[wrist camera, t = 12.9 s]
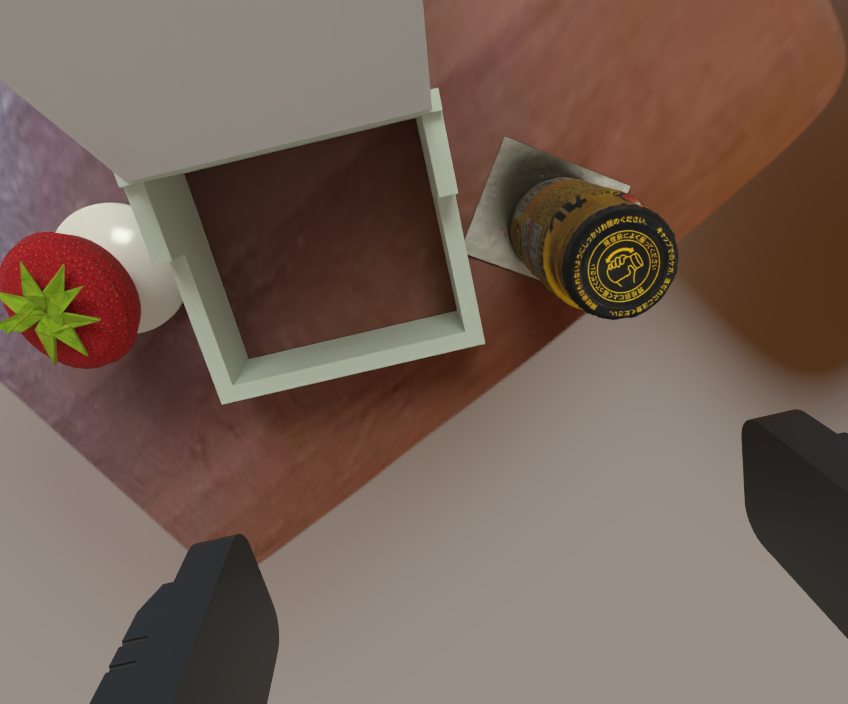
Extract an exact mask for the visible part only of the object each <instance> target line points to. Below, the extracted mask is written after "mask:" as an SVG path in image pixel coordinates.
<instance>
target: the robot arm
mask: <svg viewBox="0 0 848 704" xmlns="http://www.w3.org/2000/svg"><path fill="white" fill-rule="evenodd" d="M742 454H743V473H744V493H745V494H744V495H745V507H746V512H747V516H748V519H749V522H750V524H751V526H752V529H753V531H754V533H755V535H756V536H757V538H758V539H759V541H760V542H761V544H762V545H763V546H764V547H765V548H766V549H767V551H768V552H769V553H770V554H771V555H772V556H773V557H774V558H775V559H776V560H777V561H778V563H779V564H780V565H781V566H782V567H783V568H784V569H785V570H786V571H787V572H788V574H789V575H790V576H791V577H792V578H793V579H794V580H795V581H796V582H797V583H798V584H799V586H800V587H801V588H802V589H803V590H804V591H805V592H806V593H807V594H808V596H809V597H810V598H811V599H812V600H813V601H814V602H815V603H816V604H817V605H818V606H819V608H820V609H821V610H822V611H823V612H824V613H825V614H826V615H827V616H828V618H829V619H830V620H831V621H832V622H833V623H834V624H835V625H836V626H837V627H838V629H839V630H840V631H841V632H842V633H843V634H844V635H845V636H846V637H847V638H848V433H845V432H844V433H839V434H837V433H835V432H834V431H832V430H831V429H829V428H828V427H826V426H825V425H823V424H822V423H820V422H819V421H817V420H816V419H814V418H813V417H811V416H810V415H808V414H807V413H805V412H803V411H801V410H796V409H795V410H790V411H786V412H782V413H777V414H773V415H768V416H764V417H759V418H755V419H751V420H747V421H746V422H745V423H744V425H743V428H742ZM122 643H123V646H122V647H119V648H118V650H117V652H116V654H115V656H114V658H113V660H112V662H111V664H110V666H109V668H110V671H109V672H108V673H105V675H104V677H103V679H102V681H101V683H100V685H99V687H98V689H97V690H96V692H95V694H94V696H93V698H92V700H91V702H90V704H267V701H268V696H269V691H270V687H271V682H272V677H273V672H274V668H275V663H276V658H277V653H278V646H279V629H278V620H277V615H276V612H275V608H274V605H273V603H272V600H271V598H270V595H269V592H268V590H267V587H266V585H265V582H264V580H263V577H262V575H261V572H260V569H259V567H258V564H257V562H256V559H255V557H254V554H253V552H252V549H251V547H250V544H249V542H248V540H247V539H246V538H245V536H243V535H242V534H237V535H232V536H228V537H223V538H219V539H215V540H210V541H206V542H201V543H197V544H194V545H192V546H191V547H190V549H189V551H188V553H187V555H186V557H185V559H184V561H183V563H182V566H181V568H180V570H179V572H178V574H177V576H176V578H175V580H174V582H171V583H168V584H163V585H162V586H161V587H160V588H159V589H158V590H157V592H156V593H155V594H154V595H153V596H152V597H151V598H150V599H149V600H148V601H147V602H146V603H145V604H144V605H143V607H141V609H140V610H139V611H138V612H137V614H136V615H135V617H134V619H133V621H132V623H131V625H130V627H129V629H128V631H127V633H126V635H125V637H124V639H123V640H122Z"/></svg>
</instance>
